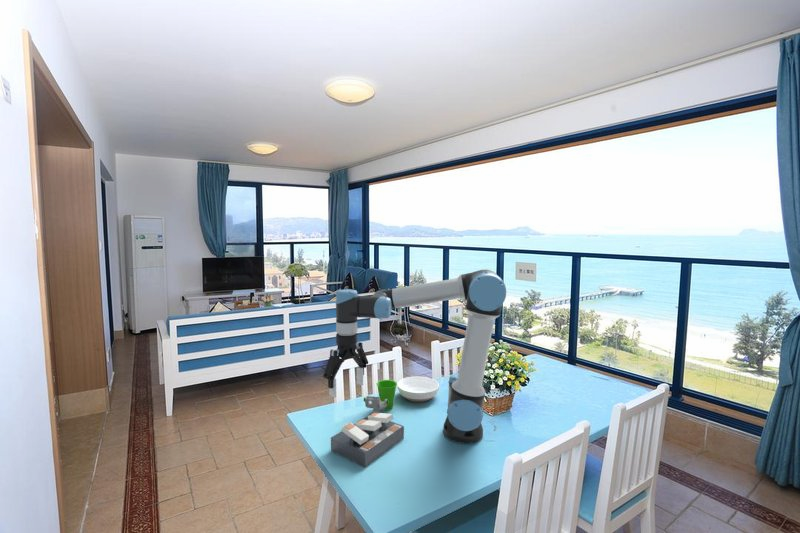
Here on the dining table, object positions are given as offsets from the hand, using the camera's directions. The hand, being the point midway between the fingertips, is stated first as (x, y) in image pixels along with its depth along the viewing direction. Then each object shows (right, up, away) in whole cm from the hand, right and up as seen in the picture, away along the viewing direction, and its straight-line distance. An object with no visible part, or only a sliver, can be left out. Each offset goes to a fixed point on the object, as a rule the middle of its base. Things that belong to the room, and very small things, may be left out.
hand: (346, 390), depth 142 cm
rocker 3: (+12, -12, +5) cm, 18 cm away
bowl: (+28, -17, +42) cm, 53 cm away
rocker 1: (+4, -13, -6) cm, 15 cm away
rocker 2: (+8, -13, 0) cm, 15 cm away
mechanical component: (+10, -19, +17) cm, 27 cm away
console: (+8, -20, +1) cm, 22 cm away
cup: (+13, -17, +30) cm, 37 cm away
